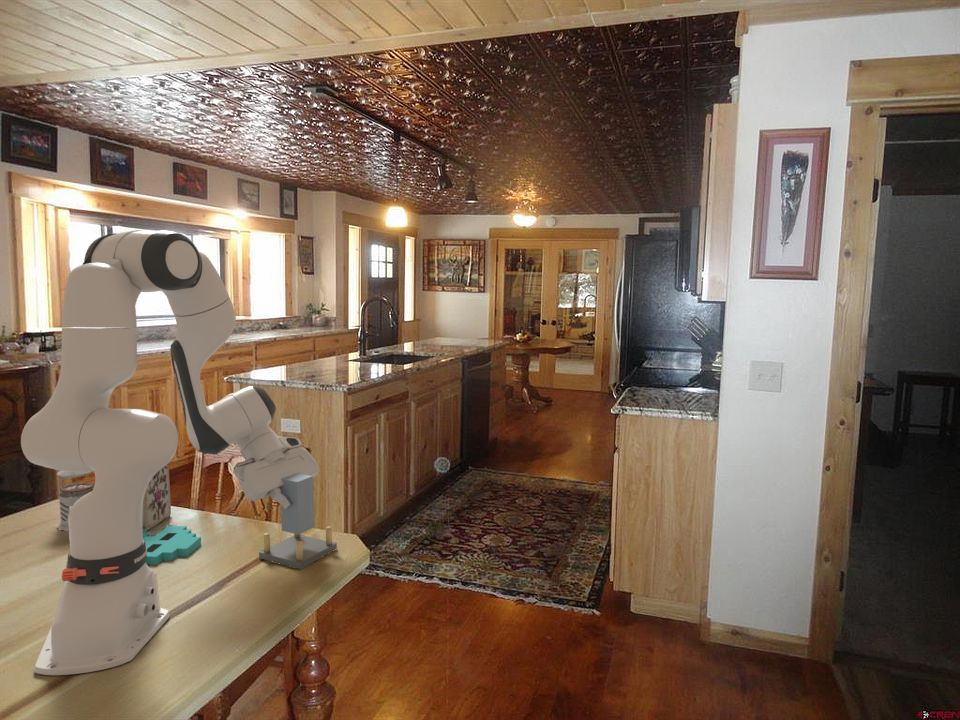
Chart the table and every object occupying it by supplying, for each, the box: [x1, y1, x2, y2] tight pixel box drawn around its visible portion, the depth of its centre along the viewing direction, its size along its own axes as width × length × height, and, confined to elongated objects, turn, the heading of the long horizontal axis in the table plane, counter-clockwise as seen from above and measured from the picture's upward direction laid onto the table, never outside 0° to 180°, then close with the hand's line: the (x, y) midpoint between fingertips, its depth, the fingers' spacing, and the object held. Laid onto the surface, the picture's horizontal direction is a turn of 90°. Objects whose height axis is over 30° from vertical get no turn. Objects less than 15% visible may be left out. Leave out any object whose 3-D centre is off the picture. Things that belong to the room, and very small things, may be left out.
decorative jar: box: [142, 464, 172, 532], centre depth 159 cm, size 12×12×18 cm
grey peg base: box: [258, 525, 338, 570], centre depth 142 cm, size 12×12×6 cm
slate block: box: [280, 473, 315, 535], centre depth 141 cm, size 5×5×12 cm
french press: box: [56, 470, 94, 531], centre depth 159 cm, size 10×12×25 cm
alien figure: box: [142, 525, 202, 565], centre depth 144 cm, size 20×2×20 cm
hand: (299, 502), depth 141 cm, fingers closed on slate block, 5 cm apart
